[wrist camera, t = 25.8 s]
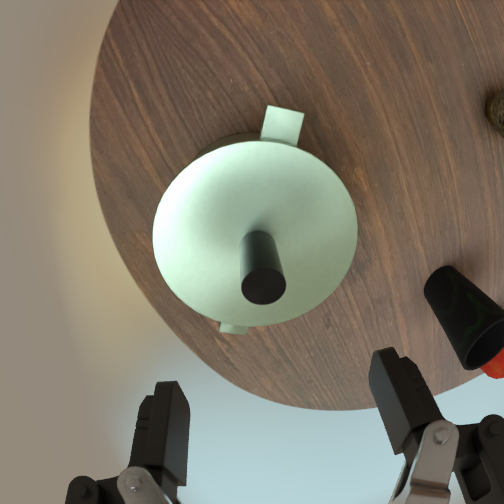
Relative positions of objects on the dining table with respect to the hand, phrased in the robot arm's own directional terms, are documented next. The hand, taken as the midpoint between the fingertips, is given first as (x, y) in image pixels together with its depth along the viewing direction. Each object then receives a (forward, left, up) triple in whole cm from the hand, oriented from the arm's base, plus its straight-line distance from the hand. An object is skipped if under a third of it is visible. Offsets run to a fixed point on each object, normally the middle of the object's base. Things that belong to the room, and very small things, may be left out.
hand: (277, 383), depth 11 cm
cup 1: (+27, -6, -20) cm, 34 cm away
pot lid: (0, 0, -11) cm, 11 cm away
